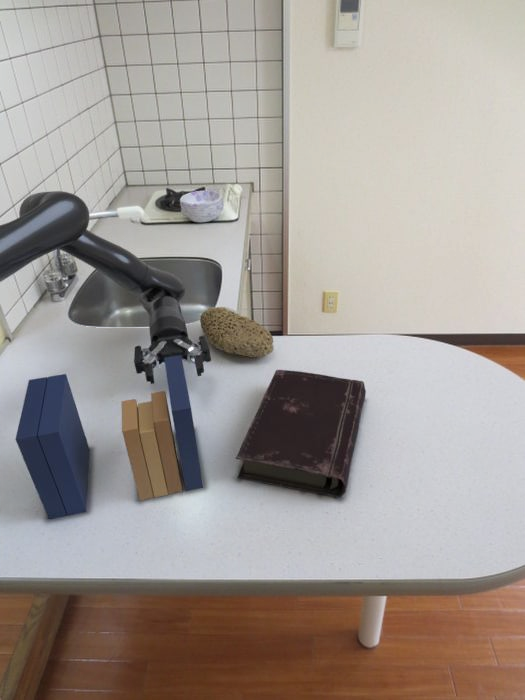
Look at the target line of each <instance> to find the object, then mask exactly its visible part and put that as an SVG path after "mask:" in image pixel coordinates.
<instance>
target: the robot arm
mask: <svg viewBox="0 0 525 700" xmlns="http://www.w3.org/2000/svg"><path fill="white" fill-rule="evenodd" d="M18 214H19V215H18V216H19V217H16V218H15V219H13V220H11V221H9V222H6V223H3V224H0V283H1V282H3V281H5V280H6V279H8V278H9V277H11V276H12V275H14V274H16V273H17V272H19V271H20V270H22V269H23V268H25V267H27V266H28V265H29V264H31V263H32V262H34V261H36V260H37V259H40V258H41V257H44V256H46V255H48V254H49V253H52V252H54V251H56V250H60V251H62V252H64V253H65V254H68V255H70V256H72V257H74V258H76V259H78V260H79V261H81V262H83V263H85V264H87V265H88V266H90V267H92V268H93V269H95V270H96V271H98V272H100V273H102V274H103V275H105V276H106V277H108V278H109V279H111V281H113V282H115V283H116V284H118V285H119V286H121V287H122V288H124V289H126V290H127V291H129V293H132V294H134V295H140V296H139V303H140V305H141V307H142V308H143V309H144V310H145V311H146V312H147V314H148V317H149V324H148V328H149V337H150V345H149V347H147V348H146V347H145V348H142V346H141V345H135V346H134V354H133V364H134V368H135V373H136V374H142V373H143V372H144V376H145V380H146V382H147V383H149V384H150V385H154V384H155V373H154V372H155V370H157V369H158V370H159V369H160V368H161V367H162V366H163V365H165V360H164V358H166V357H173V356H179V355H181V357H182V361H183V362H185V363H188V364H194V368H195V371H196V375H197V377H201V376H202V374H204V373H205V367H204V362H206V363H210V362H211V361H212V357H211V348H210V346H209V343H208V341H207V339H206V335H199V337H198V339H196V340H191V339H190V338H189V334H188V328H187V324H186V321H185V317H184V316H183V312H182V309H181V305H180V301H181V300H182V299H183V297H184V296H185V292H186V290H185V285H184V283H183V281H182V280H181V279H180V278H179V277H178V276H177V275H175V274H172V273H171V272H169V271H165V270H162V269H160V268H156V267H154V266H152V265H149V264H147V263H146V262H144V261H143V260H142V259H141V258H139V257H138V256H137V255H135V254H134V253H132V252H131V251H129V250H128V249H126V248H125V247H122V246H120V245H118V244H116V243H113V242H111V241H110V240H108V239H105V238H103V237H101V236H99V235H97V234H95V233H93V232H92V231H90V230H88V227H89V224H90V217H91V216H90V210H89V208H88V205H87V204H86V202H85V201H84V200H83V199H82V198H81V197H79V196H78V195H76V194H74V193H72V192H68V191H62V190H55V191H41V192H36V193H32V194H30V195H29V196H27V197H26V198H24V200H23V201H22V202H21V204H20V207H19V212H18ZM195 348H196V349H195ZM148 355H149V356H148ZM147 356H148V357H147Z"/></svg>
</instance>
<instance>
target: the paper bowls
mask: <svg viewBox="0 0 525 700" xmlns="http://www.w3.org/2000/svg"><path fill="white" fill-rule="evenodd" d="M223 198H224V196H223V194H222V193H220V192H219V191H215V190H208V189H207V190H205V189H204V190H196V191H191V192H188V193H185V194H183V195H182V196H181V197H180V198H179V205H180V211H181V214H182V215H183V216H186V217H187V219H189V221H191V222H194V223H200V224H201V223H209V222H212V221H214V220H216V219H217V218H218V216H219V214H220V213H222V212H223V211H224V209H225V208H224V206H225V205H224V199H223Z"/></svg>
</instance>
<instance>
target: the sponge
mask: <svg viewBox="0 0 525 700" xmlns="http://www.w3.org/2000/svg"><path fill="white" fill-rule="evenodd" d="M199 322H200V327H201V330H202V332H203V333H204V334H205V336H206V337H207V340H208V341H209V343H210V344H211V345H212V346H214V347H215V348H217V349H219V350H220V351H224V352H225V353H228V354H231V355H239V356H244V357H248V358H254V357H255V358H263V357H267V356H268V355H270V354H271V353H272V352H273V351H274V337H273V335H272V334H271V332H270V331H269V330H268V329H267V328H266V327H264V326H262V324H260V323H258V322H257V321H256V320H253V319H250V318H249V317H248V316H242V315H241V314H239V313H237V312H236V310H235V309H232V308H229V307H227V306H212V307H209V308H207V309H206V310H204V311H202V313H201V314H200V319H199Z"/></svg>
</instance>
